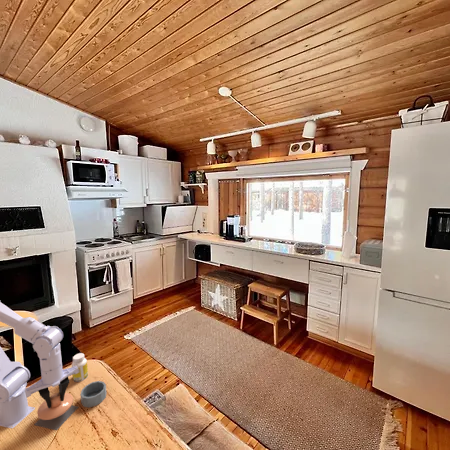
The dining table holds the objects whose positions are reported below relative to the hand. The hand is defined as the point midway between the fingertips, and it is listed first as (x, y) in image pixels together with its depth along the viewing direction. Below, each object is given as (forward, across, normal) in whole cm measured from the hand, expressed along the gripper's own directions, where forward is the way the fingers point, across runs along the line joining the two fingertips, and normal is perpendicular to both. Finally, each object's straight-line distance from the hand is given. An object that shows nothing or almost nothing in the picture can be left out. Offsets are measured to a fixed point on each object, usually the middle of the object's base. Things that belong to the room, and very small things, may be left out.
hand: (55, 402), depth 85 cm
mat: (+5, 0, 0) cm, 5 cm away
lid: (+2, 0, 0) cm, 2 cm away
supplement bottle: (+6, +12, +14) cm, 19 cm away
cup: (+5, +11, -2) cm, 13 cm away
